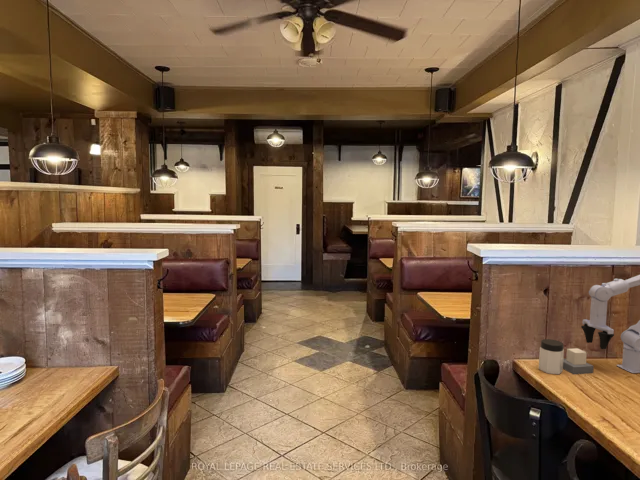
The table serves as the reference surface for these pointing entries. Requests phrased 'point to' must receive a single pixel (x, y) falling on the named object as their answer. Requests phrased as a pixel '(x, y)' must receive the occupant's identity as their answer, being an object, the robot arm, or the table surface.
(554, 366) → the jar
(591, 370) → the charcoal base
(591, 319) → the robot arm
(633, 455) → the table surface
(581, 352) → the cream cube
